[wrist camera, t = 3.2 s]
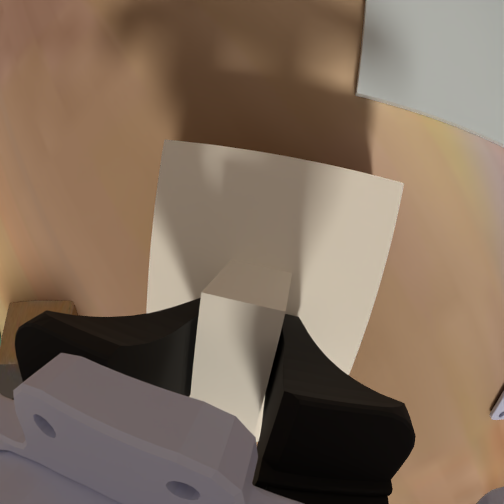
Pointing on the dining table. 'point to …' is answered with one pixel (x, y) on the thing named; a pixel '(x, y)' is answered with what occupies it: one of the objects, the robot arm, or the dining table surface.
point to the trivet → (437, 61)
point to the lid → (265, 260)
